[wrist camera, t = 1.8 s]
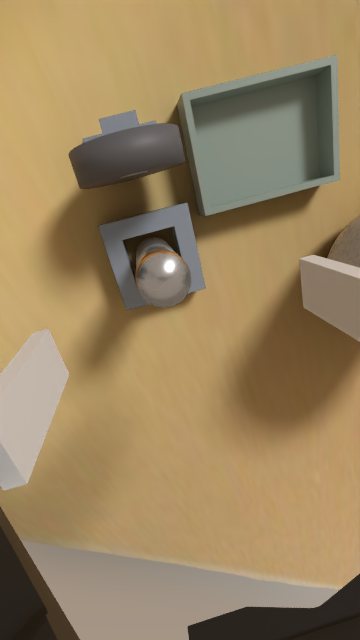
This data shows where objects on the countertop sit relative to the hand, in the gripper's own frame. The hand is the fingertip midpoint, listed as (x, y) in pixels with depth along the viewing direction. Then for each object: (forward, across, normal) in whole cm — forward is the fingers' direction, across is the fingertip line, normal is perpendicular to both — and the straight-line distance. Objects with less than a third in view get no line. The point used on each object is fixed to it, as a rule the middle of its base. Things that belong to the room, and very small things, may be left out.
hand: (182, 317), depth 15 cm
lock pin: (+19, 0, 0) cm, 19 cm away
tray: (+19, +13, +8) cm, 25 cm away
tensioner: (+19, 0, +4) cm, 20 cm away
